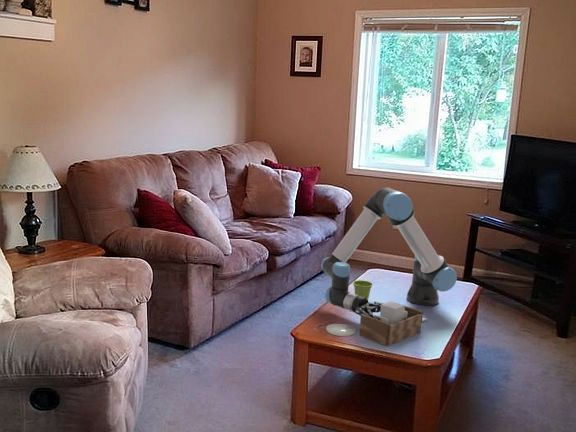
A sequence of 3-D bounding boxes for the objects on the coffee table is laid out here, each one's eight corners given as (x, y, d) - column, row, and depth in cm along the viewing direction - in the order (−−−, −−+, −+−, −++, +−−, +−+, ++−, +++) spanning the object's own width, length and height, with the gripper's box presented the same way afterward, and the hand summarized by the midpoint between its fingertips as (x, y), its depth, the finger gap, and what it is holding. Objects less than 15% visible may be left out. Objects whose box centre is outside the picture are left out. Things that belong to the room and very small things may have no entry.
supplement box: (403, 334, 251) (405, 305, 248) (392, 338, 246) (395, 309, 243) (388, 328, 256) (390, 300, 253) (377, 333, 251) (380, 304, 248)
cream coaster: (338, 322, 259) (339, 321, 259) (361, 331, 251) (361, 330, 251) (320, 329, 251) (320, 328, 251) (342, 338, 243) (342, 337, 243)
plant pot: (348, 301, 287) (350, 283, 286) (355, 296, 296) (356, 278, 294) (367, 305, 283) (369, 287, 282) (373, 299, 292) (375, 282, 290)
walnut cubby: (393, 322, 264) (395, 302, 262) (420, 332, 255) (423, 311, 253) (359, 335, 247) (360, 314, 245) (387, 346, 238) (389, 324, 236)
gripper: (373, 306, 271) (413, 320, 257) (337, 318, 254) (378, 334, 239) (374, 290, 270) (415, 303, 255) (338, 301, 252) (379, 316, 238)
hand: (397, 318), depth 247 cm, fingers open, 13 cm apart
